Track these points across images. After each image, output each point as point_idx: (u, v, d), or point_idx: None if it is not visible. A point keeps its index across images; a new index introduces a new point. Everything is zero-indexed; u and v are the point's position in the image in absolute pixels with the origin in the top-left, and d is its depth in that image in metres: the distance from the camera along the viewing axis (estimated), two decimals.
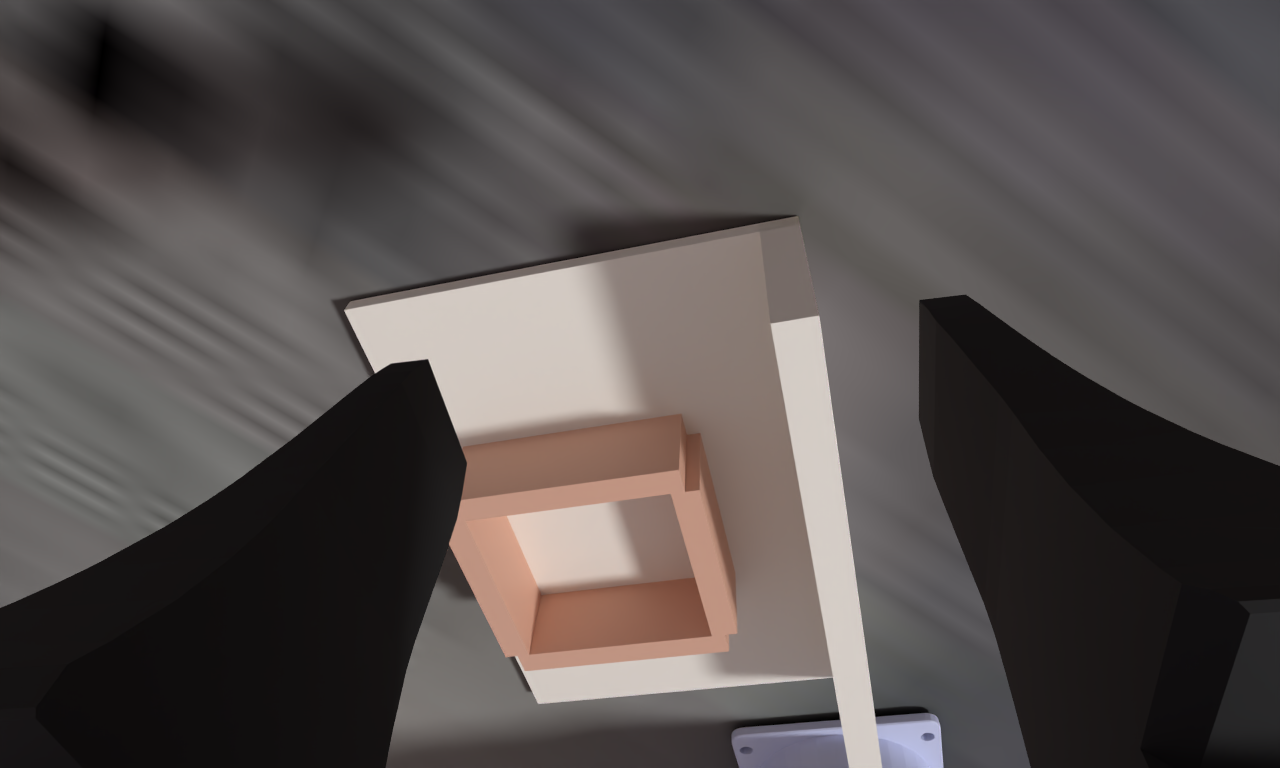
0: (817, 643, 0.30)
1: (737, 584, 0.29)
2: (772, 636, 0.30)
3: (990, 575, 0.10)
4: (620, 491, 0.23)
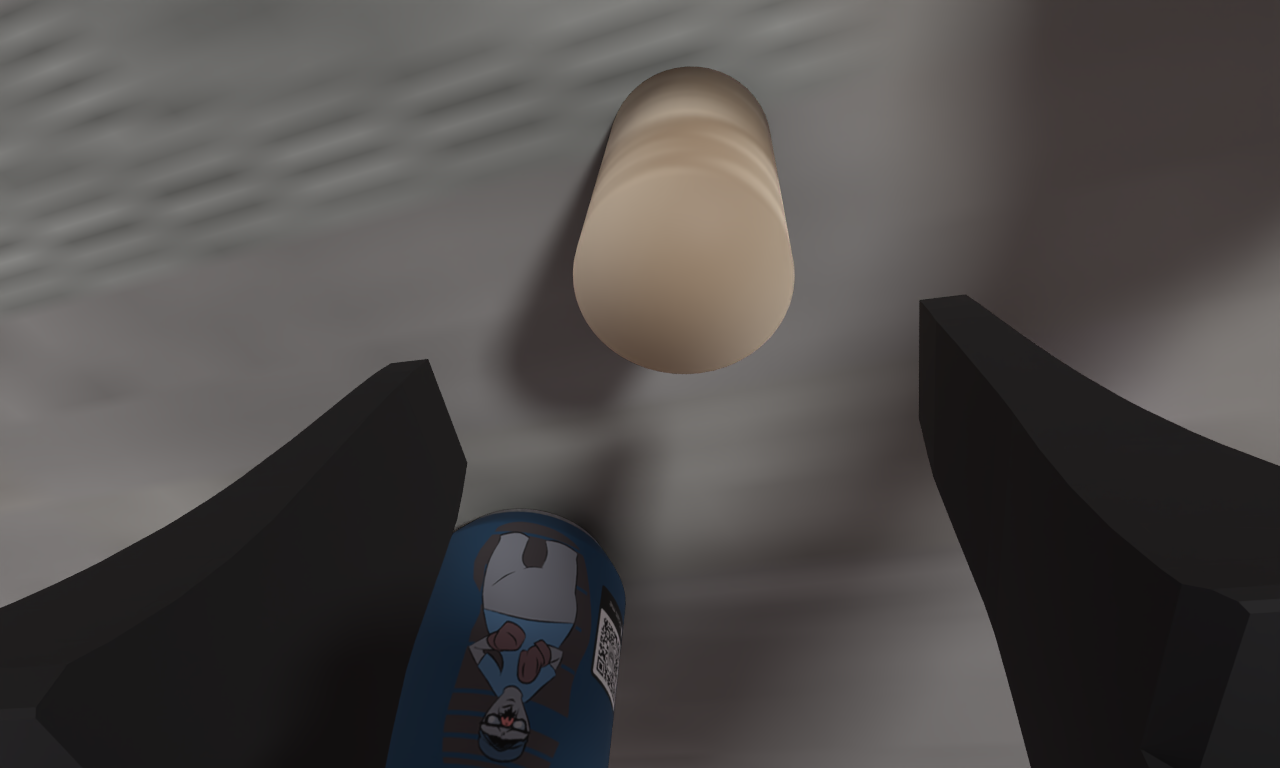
0: None
1: None
2: None
3: (990, 575, 0.10)
4: None
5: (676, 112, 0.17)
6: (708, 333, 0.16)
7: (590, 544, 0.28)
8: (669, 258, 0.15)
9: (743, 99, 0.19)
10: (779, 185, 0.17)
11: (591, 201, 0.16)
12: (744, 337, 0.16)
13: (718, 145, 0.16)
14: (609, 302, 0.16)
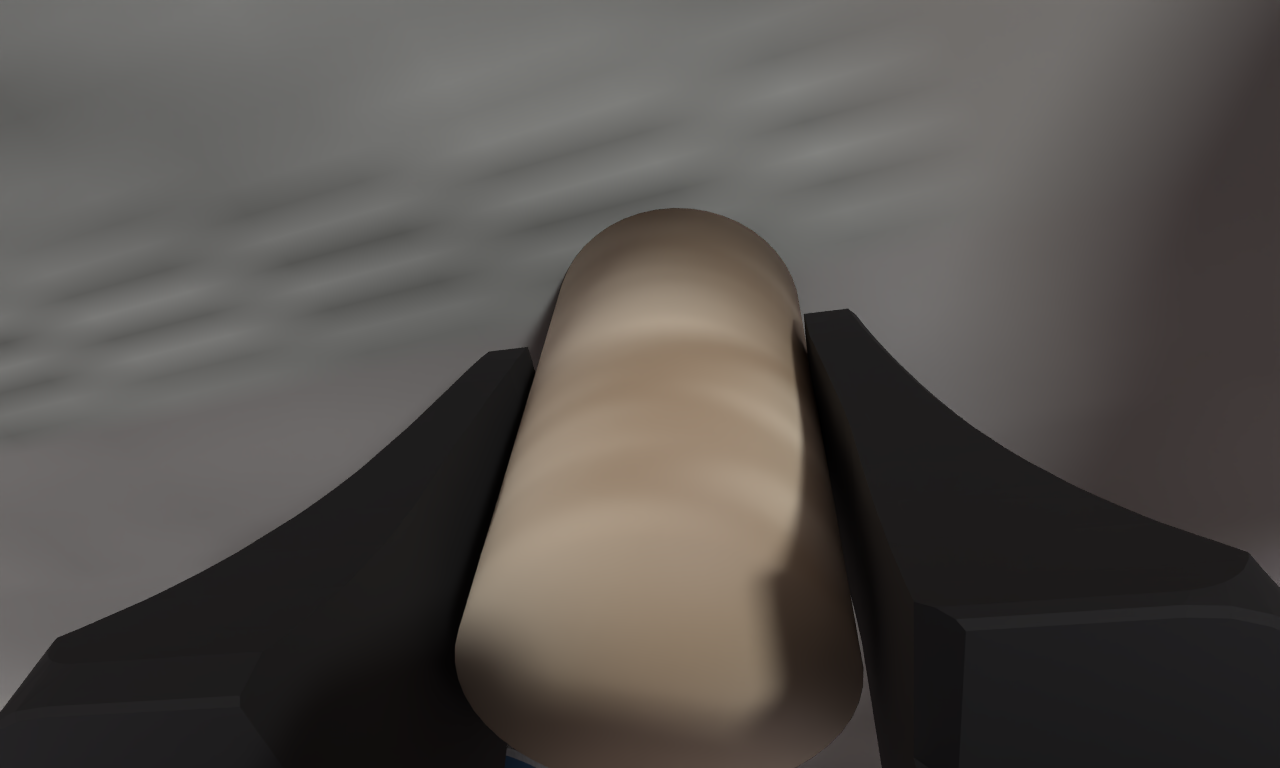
0: None
1: None
2: None
3: (855, 584, 0.10)
4: None
5: (651, 324, 0.10)
6: (703, 748, 0.09)
7: None
8: (631, 650, 0.08)
9: (760, 269, 0.12)
10: None
11: (498, 501, 0.09)
12: (767, 754, 0.09)
13: (721, 418, 0.09)
14: (525, 702, 0.09)
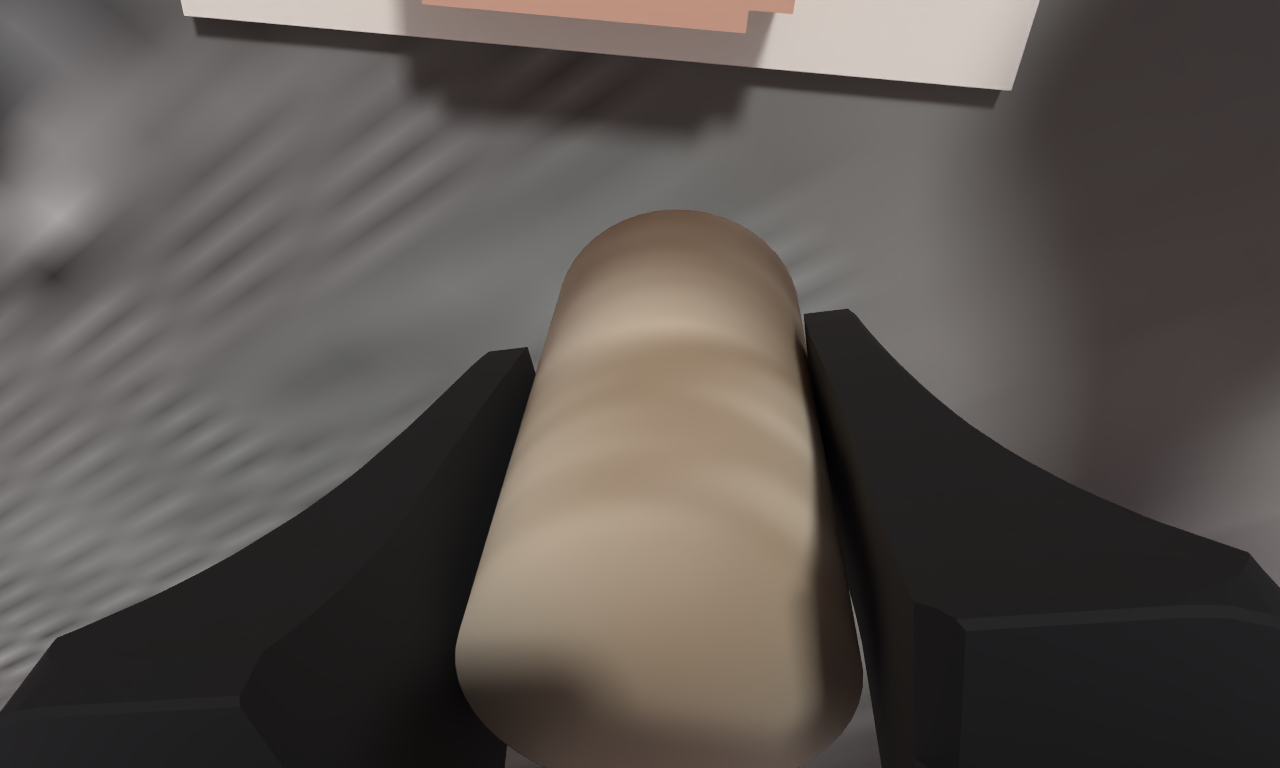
0: None
1: None
2: None
3: (855, 585, 0.10)
4: None
5: (650, 327, 0.10)
6: (703, 749, 0.09)
7: None
8: (630, 653, 0.08)
9: (760, 271, 0.12)
10: (822, 442, 0.10)
11: (498, 503, 0.09)
12: (767, 755, 0.09)
13: (721, 420, 0.09)
14: (526, 704, 0.09)
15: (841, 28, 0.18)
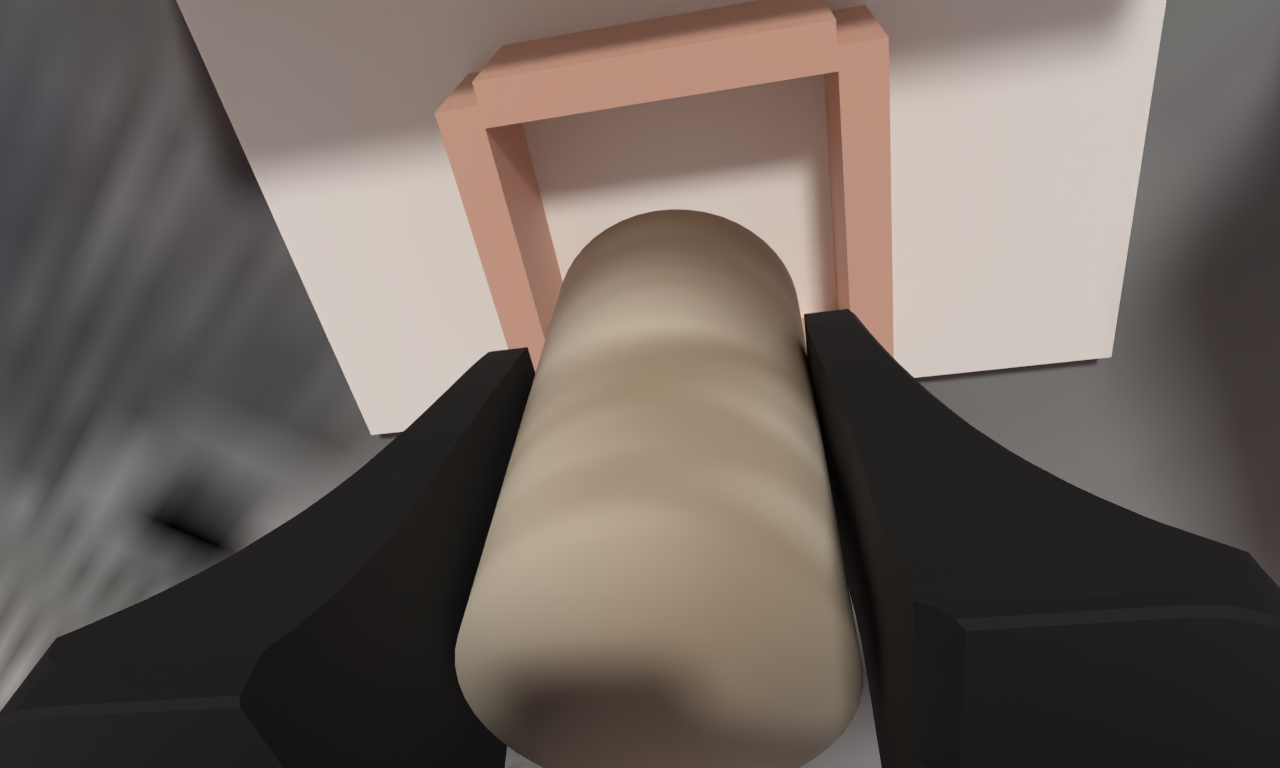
0: None
1: None
2: None
3: (855, 585, 0.10)
4: (487, 202, 0.15)
5: (650, 327, 0.10)
6: (703, 749, 0.09)
7: None
8: (630, 653, 0.08)
9: (759, 270, 0.12)
10: (822, 442, 0.10)
11: (497, 505, 0.09)
12: (767, 756, 0.09)
13: (720, 420, 0.09)
14: (526, 706, 0.09)
15: (935, 342, 0.19)
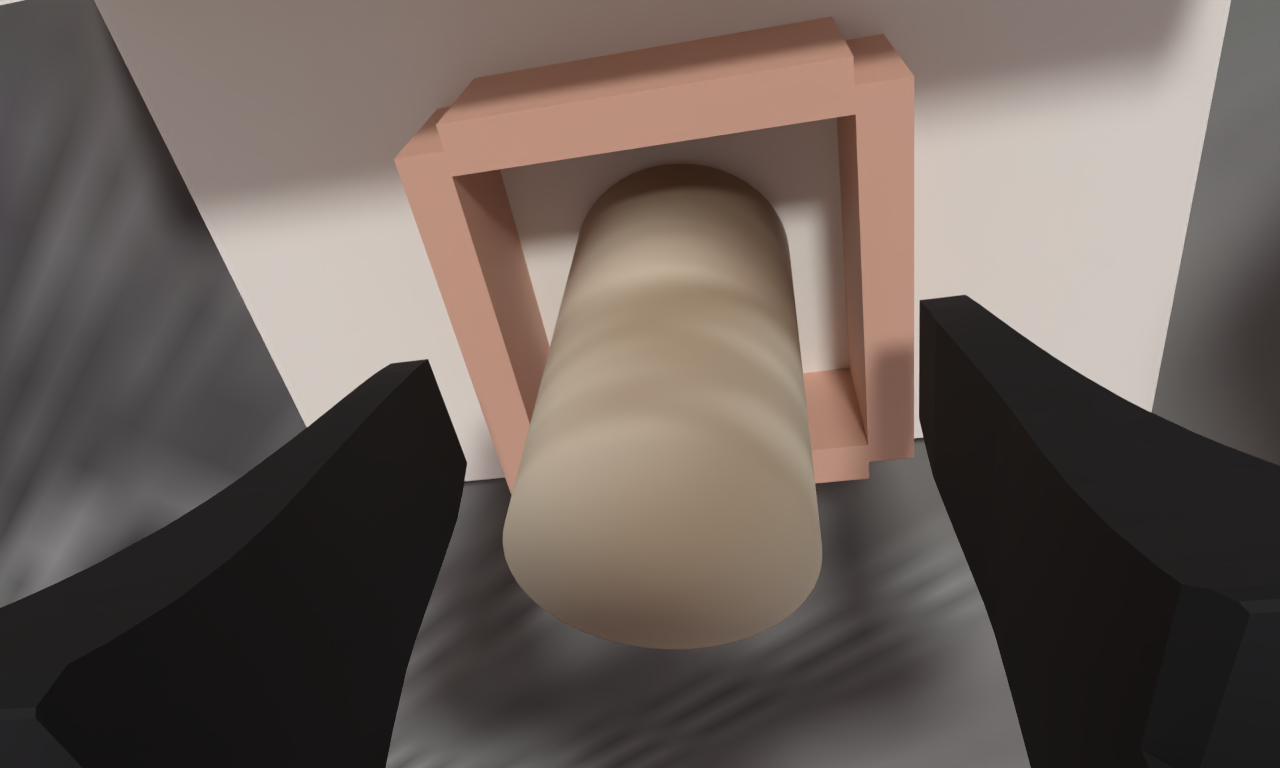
0: None
1: (868, 11, 0.14)
2: None
3: (990, 575, 0.10)
4: (456, 257, 0.14)
5: (656, 272, 0.12)
6: (698, 611, 0.11)
7: None
8: (640, 533, 0.10)
9: (752, 219, 0.14)
10: (801, 368, 0.13)
11: (533, 419, 0.11)
12: (749, 616, 0.11)
13: (713, 350, 0.11)
14: (557, 576, 0.11)
15: None
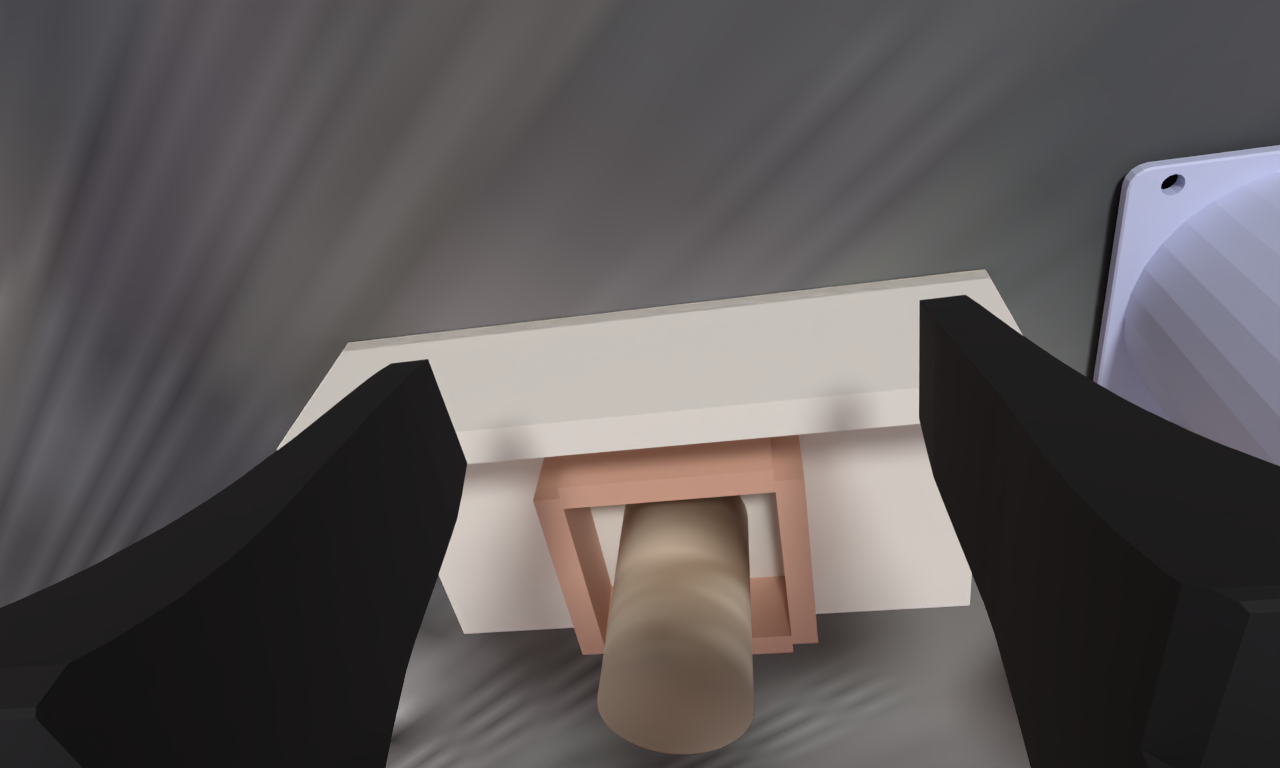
0: None
1: None
2: None
3: (990, 575, 0.10)
4: (562, 542, 0.25)
5: (672, 551, 0.24)
6: (694, 734, 0.22)
7: None
8: (665, 695, 0.21)
9: (724, 508, 0.26)
10: (748, 600, 0.24)
11: (610, 632, 0.23)
12: (720, 737, 0.22)
13: (700, 602, 0.22)
14: (623, 715, 0.22)
15: (852, 593, 0.29)
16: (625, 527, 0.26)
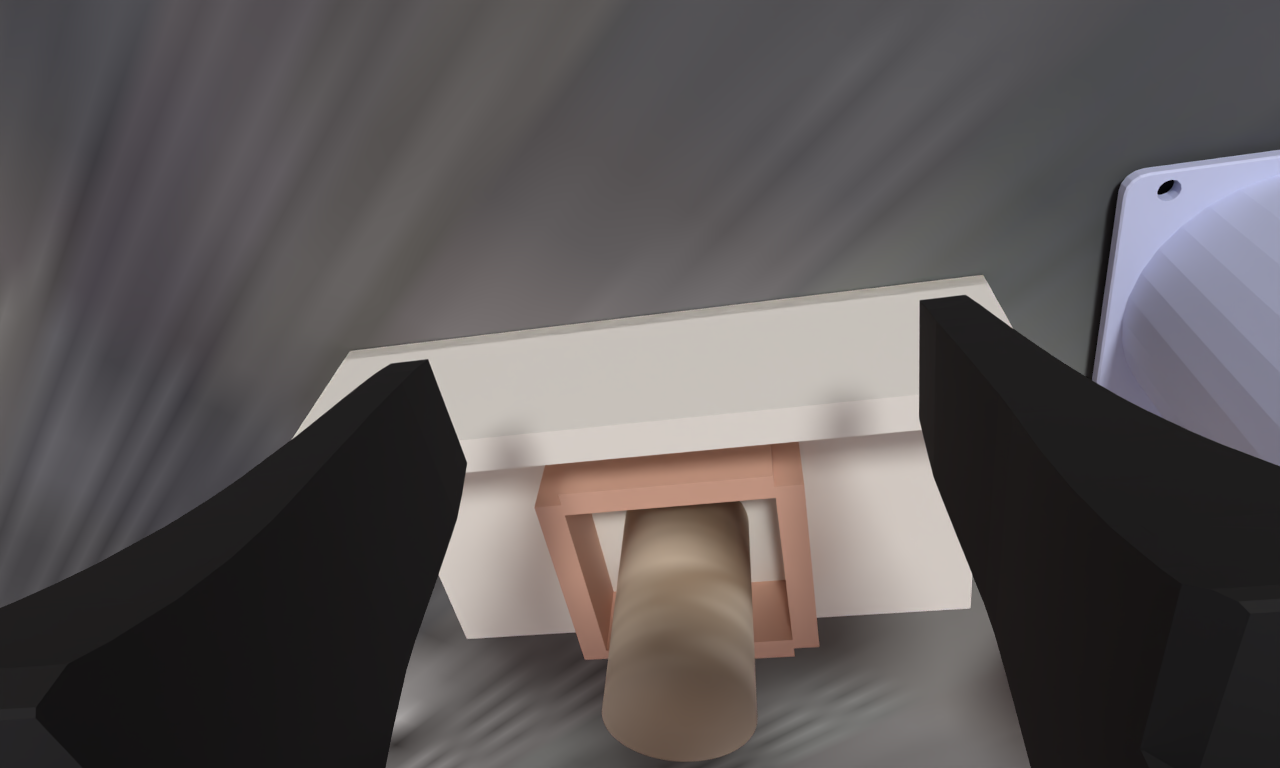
0: None
1: None
2: None
3: (990, 575, 0.10)
4: (563, 548, 0.25)
5: (673, 561, 0.24)
6: (699, 742, 0.22)
7: None
8: (669, 706, 0.22)
9: (724, 514, 0.26)
10: (749, 607, 0.24)
11: (613, 644, 0.23)
12: (724, 744, 0.22)
13: (702, 613, 0.22)
14: (628, 726, 0.22)
15: (853, 597, 0.29)
16: (626, 535, 0.26)
